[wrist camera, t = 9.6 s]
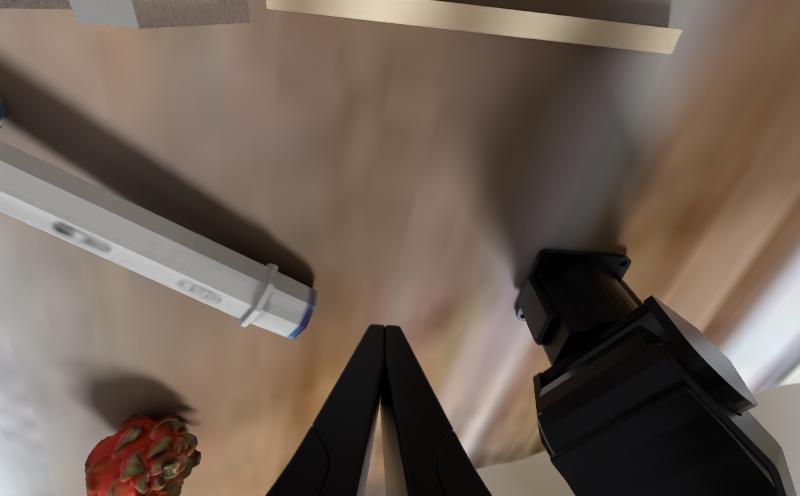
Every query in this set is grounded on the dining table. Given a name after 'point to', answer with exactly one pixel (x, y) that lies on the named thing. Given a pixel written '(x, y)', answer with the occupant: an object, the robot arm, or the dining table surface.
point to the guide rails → (493, 22)
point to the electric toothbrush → (150, 244)
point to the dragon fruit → (142, 459)
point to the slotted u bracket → (145, 11)
